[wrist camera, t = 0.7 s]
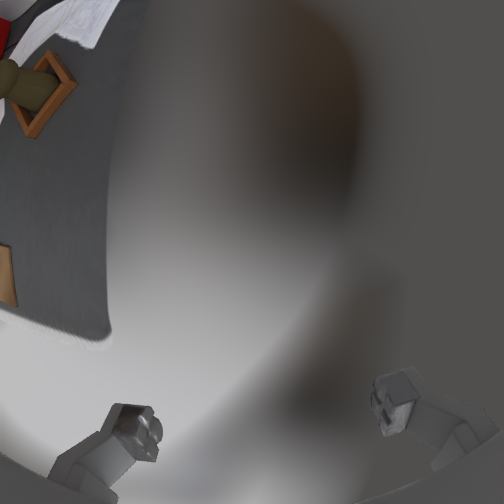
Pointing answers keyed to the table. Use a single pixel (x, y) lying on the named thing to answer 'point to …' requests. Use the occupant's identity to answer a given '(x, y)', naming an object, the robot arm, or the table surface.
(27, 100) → the pepper shaker
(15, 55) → the table surface
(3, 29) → the fire alarm
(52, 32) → the table surface
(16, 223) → the table surface
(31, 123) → the frame
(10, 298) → the wooden cutting board
